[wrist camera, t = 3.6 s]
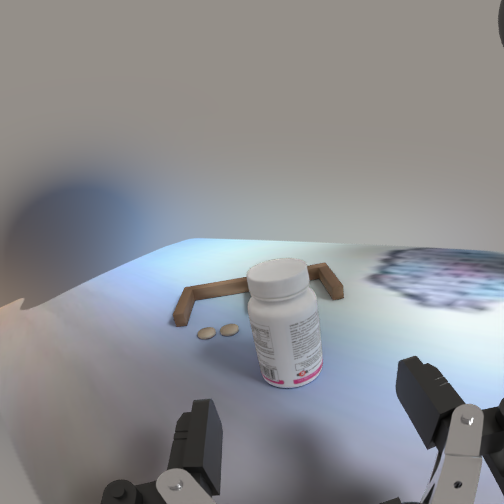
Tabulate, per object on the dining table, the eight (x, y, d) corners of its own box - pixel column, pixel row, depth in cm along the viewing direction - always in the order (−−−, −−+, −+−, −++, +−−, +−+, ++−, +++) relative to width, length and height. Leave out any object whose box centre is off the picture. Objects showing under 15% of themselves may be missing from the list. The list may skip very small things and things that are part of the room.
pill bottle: (321, 348, 24) (311, 252, 22) (325, 386, 20) (315, 277, 17) (264, 354, 25) (246, 260, 23) (258, 392, 21) (234, 287, 18)
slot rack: (326, 273, 39) (325, 262, 39) (353, 312, 29) (353, 298, 28) (187, 297, 40) (184, 287, 39) (170, 343, 29) (165, 330, 29)
